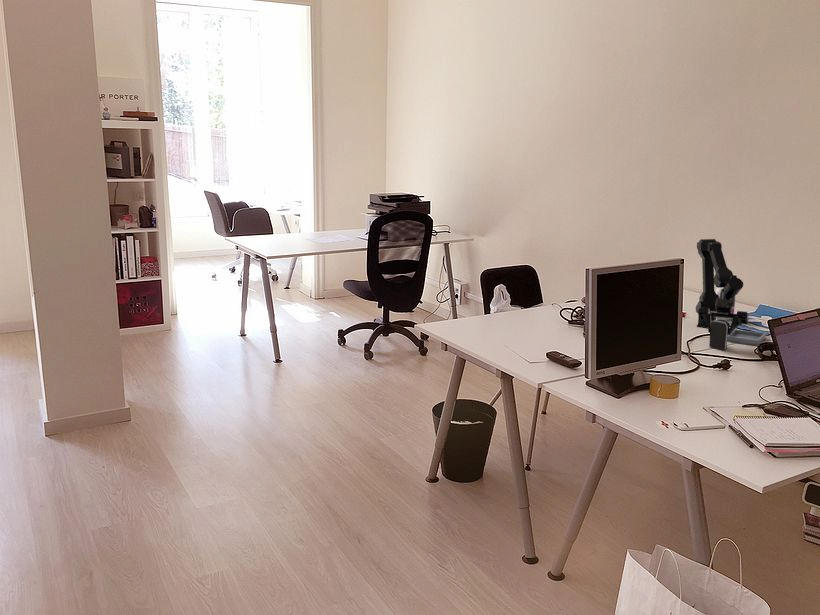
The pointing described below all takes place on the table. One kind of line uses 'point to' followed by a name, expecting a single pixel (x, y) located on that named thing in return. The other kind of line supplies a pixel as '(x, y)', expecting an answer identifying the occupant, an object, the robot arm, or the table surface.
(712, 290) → the robot arm
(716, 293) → the supplement can
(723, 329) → the battery
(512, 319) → the table surface
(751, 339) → the tray
